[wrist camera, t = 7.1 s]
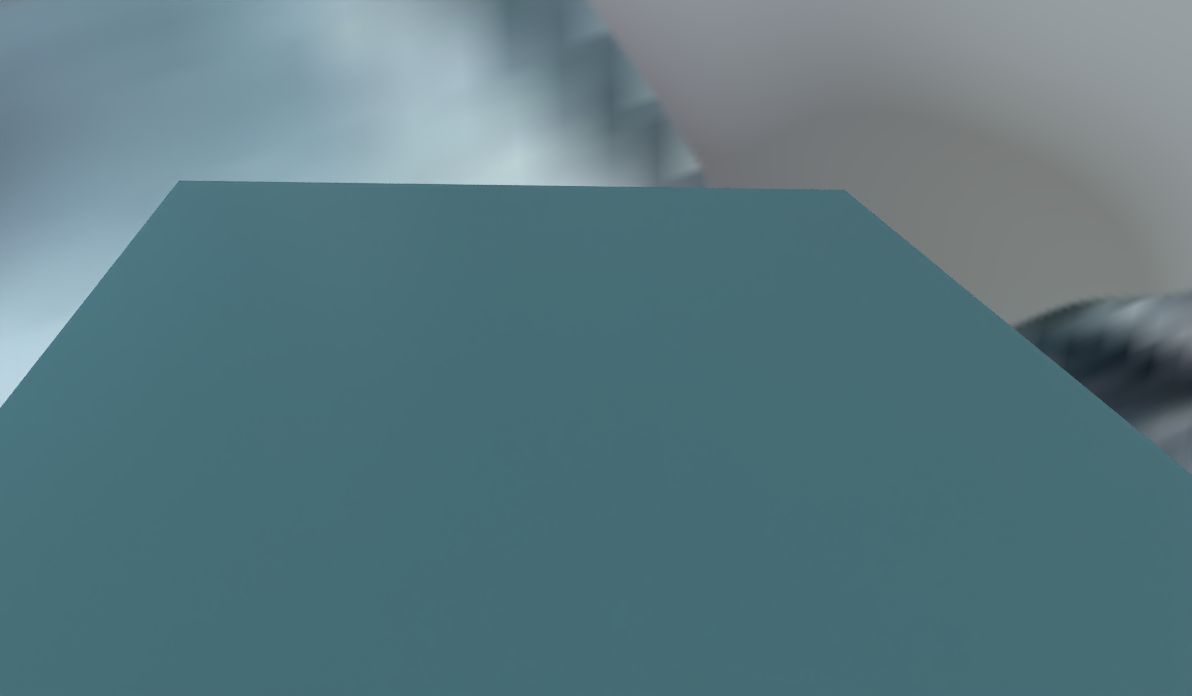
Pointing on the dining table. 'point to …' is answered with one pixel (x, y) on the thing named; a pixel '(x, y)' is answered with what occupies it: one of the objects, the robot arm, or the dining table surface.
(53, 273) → the dining table surface
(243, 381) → the teal square block
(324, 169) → the dining table surface
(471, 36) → the dining table surface
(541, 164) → the dining table surface
